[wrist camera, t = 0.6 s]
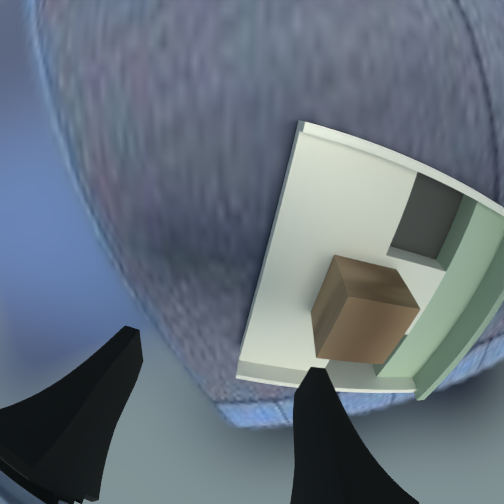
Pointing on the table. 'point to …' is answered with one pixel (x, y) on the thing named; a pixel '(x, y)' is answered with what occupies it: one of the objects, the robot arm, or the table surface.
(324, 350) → the walnut block
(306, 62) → the table surface
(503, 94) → the table surface
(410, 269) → the board
